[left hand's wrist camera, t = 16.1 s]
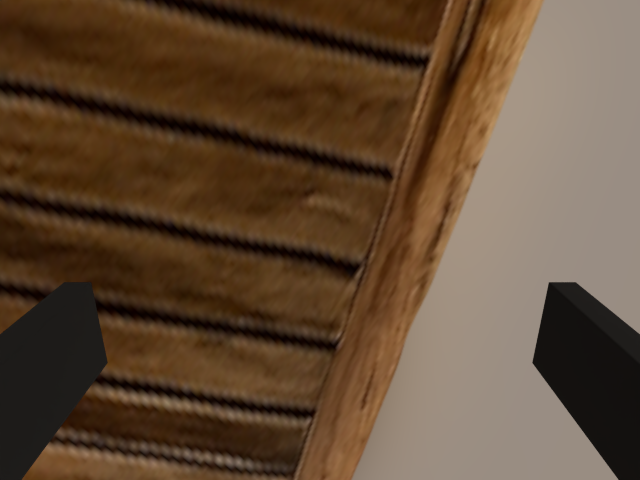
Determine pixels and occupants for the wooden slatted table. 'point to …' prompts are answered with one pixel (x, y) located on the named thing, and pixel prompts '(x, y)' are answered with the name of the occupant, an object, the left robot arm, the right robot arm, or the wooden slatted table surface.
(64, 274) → the wooden slatted table surface
